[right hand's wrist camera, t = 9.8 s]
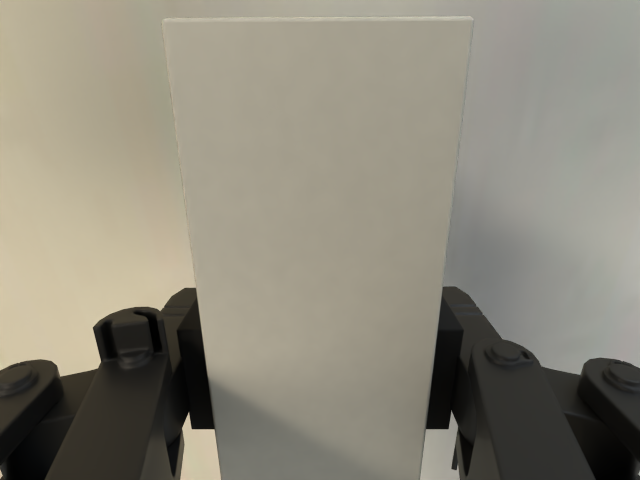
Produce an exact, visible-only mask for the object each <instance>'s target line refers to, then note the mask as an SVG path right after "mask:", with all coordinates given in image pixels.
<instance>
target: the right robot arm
mask: <svg viewBox="0 0 640 480" xmlns="http://www.w3.org/2000/svg"><path fill="white" fill-rule="evenodd" d="M93 330H94V334H95V338H96V342H97V346H98V350H99V354H100V358H101V363H100V365H99V368H98V369H95V370H91V371H86V372H82V373H77V374H72V375H67V376H62V377H60V374H59V371H58V368H57V365H55V364H54V363H53V362H52V361H48V360H41V359H40V360H31V361H24V362H20V363H16V364H13V365H10V366H9V367H7V368H5V369H3V370H0V470H1V472H2V475H3V476H2V477H1V479H0V480H180V476H181V468H182V460H183V452H184V438H183V431H182V427H183V424H184V422H185V420H186V417H187V415H188V413H189V414H190V421H191V427H192V429H215V428H214V420H213V412H212V405H211V397H210V390H209V382H208V374H207V367H206V359H205V352H204V344H203V336H202V329H201V321H200V314H199V306H198V299H197V291H196V288H184V289H183V290H181V291H179V292H178V293H176V294H175V295H173V296H172V297H171V298H170V299H169V301H168V302H167V303H166V305H165V306H164V308H163V309H162V310H161V311H159V310H158V309H155V308H151V307H134V308H128V309H123V310H120V311H118V312H115V313H112V314H110V315H108V316H106V317H105V318H103V319H101V320H100V321H99V322H98V323H97V324H96V325H95V326H94V327H93ZM451 410H452V412H453V415H454V417H455V419H456V422H457V424H458V431H457V437H456V443H455V449H454V455H453V461H452V469H454V470H457V465H458V467H459V475H460V480H640V476H639V475H638V473H639V471H640V368H638V367H636V366H634V365H632V364H630V363H627V362H624V361H623V362H622V361H620V360H616V359H607V358H595V359H589V360H588V361H587V362H586V363H585V364H584V366H583V369H582V372H581V375H577V374H572V373H567V372H562V371H557V370H552V369H548V368H545V367H541V365H540V363H539V361H538V360H537V358H536V357H535V356H534V355H533V353H531V352H530V351H528V350H527V349H526V348H524V347H523V346H520V345H518V344H516V343H513V342H511V341H507V340H503V339H502V338H501V337H500V336H499V334H498V333H497V332H496V330H495V329H494V328H493V326H492V325H491V324H490V322H489V321H488V320H487V318H486V317H485V316H484V315H482V312H481V311H480V309H479V308H478V307H476V304H475V303H474V301H473V300H472V299H471V297H470V296H469V295H468V294H466V293H465V292H463V291H461V290H460V289H458V288H457V287H443V288H442V297H441V305H440V313H439V322H438V330H437V339H436V347H435V356H434V364H433V372H432V381H431V389H430V398H429V406H428V415H427V423H426V429H449V422H450V416H451Z"/></svg>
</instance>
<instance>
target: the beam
mask: <svg viewBox="0 0 640 480" xmlns="http://www.w3.org/2000/svg"><path fill="white" fill-rule="evenodd" d="M161 25H162V33H163V41H164V48H165V56H166V63H167V71H168V79H169V86H170V94H171V101H172V109H173V116H174V124H175V132H176V139H177V147H178V154H179V162H180V170H181V177H182V185H183V192H184V200H185V208H186V215H187V223H188V230H189V238H190V245H191V253H192V261H193V268H194V276H195V283H196V291H197V299H198V306H199V314H200V321H201V329H202V336H203V344H204V352H205V359H206V367H207V374H208V382H209V390H210V397H211V405H212V412H213V420H214V428H215V435H216V443H217V450H218V458H219V465H220V473H221V480H420V474H421V465H422V457H423V448H424V440H425V432H426V423H427V415H428V406H429V398H430V389H431V381H432V372H433V364H434V356H435V347H436V339H437V330H438V322H439V313H440V305H441V297H442V288H443V280H444V271H445V263H446V254H447V246H448V238H449V229H450V221H451V212H452V204H453V195H454V187H455V178H456V170H457V162H458V153H459V145H460V136H461V128H462V119H463V111H464V103H465V94H466V86H467V77H468V69H469V60H470V52H471V44H472V35H473V27H474V20H473V18H472V17H470V16H394V17H228V18H165V19H163V20H162V23H161Z"/></svg>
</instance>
